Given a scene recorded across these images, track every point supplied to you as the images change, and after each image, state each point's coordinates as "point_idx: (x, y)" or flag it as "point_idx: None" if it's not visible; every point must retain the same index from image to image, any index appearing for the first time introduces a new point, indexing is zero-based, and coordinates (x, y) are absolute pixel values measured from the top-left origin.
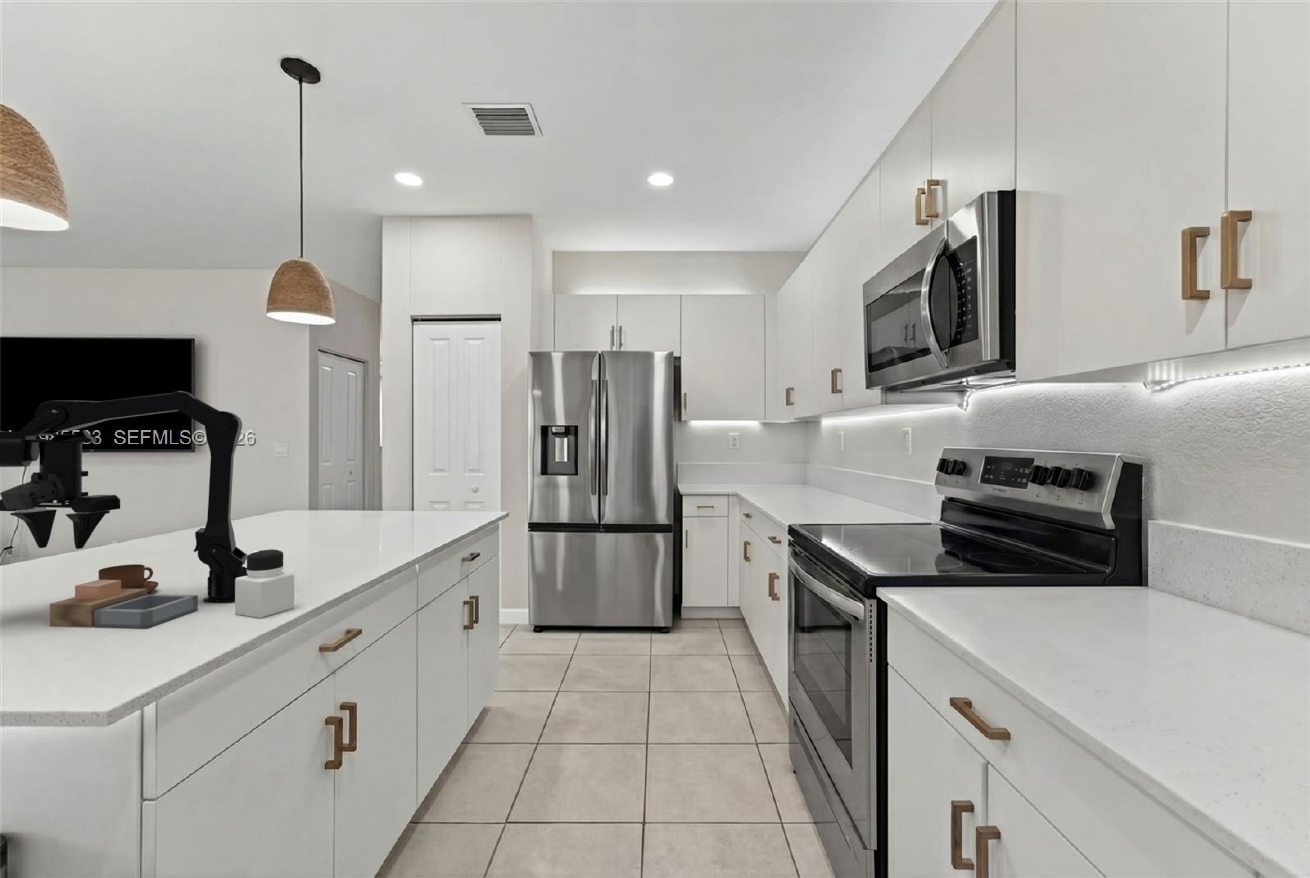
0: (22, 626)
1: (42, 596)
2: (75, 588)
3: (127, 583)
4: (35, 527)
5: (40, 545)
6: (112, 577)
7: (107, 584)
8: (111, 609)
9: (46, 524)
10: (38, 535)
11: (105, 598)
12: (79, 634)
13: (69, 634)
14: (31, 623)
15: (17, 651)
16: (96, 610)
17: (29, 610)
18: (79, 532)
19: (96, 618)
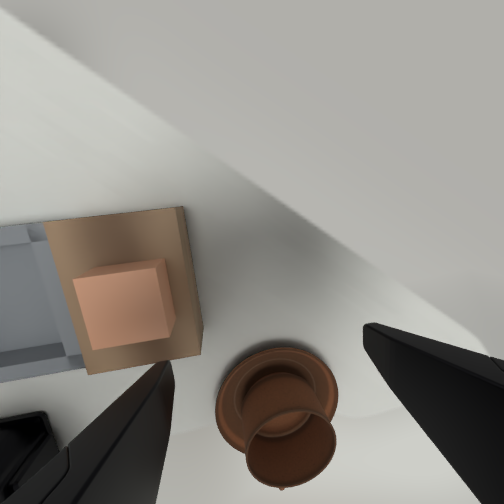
0: (238, 193)
1: None
2: (156, 265)
3: (246, 410)
4: (491, 389)
5: (370, 329)
6: (268, 406)
7: (83, 308)
8: (8, 239)
9: (496, 474)
10: (419, 357)
11: None
12: (41, 171)
13: (65, 167)
14: (243, 213)
15: (31, 43)
16: (38, 223)
17: (344, 277)
18: (67, 449)
19: None
